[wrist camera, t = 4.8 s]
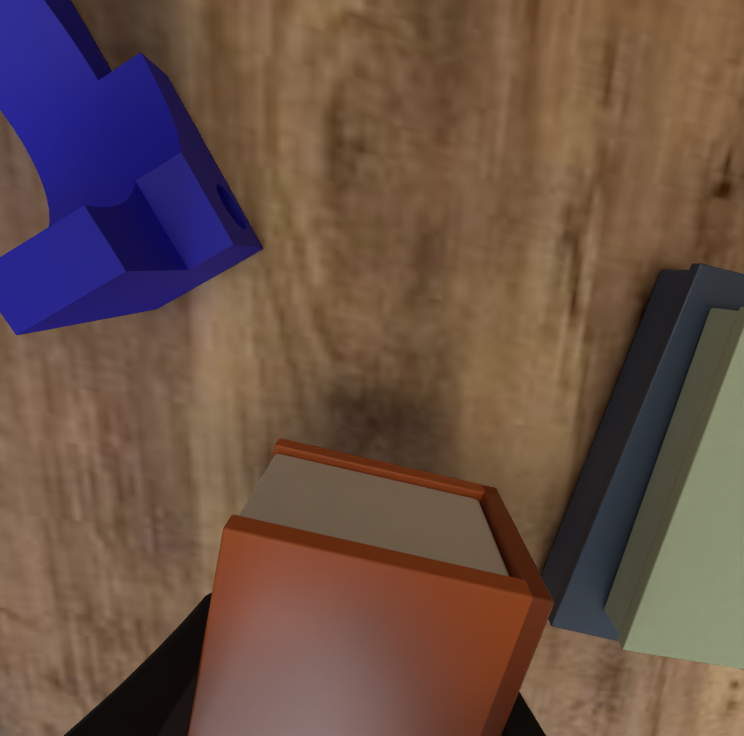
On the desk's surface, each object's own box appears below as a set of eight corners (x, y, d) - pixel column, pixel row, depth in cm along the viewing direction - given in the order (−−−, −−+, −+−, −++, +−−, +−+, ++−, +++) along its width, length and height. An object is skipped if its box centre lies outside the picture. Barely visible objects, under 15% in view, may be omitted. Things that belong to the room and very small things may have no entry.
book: (407, 751, 11) (417, 948, 8) (224, 712, 11) (157, 896, 8) (497, 487, 10) (556, 602, 6) (278, 437, 9) (222, 528, 6)
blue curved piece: (263, 248, 15) (184, 237, 9) (156, 308, 15) (16, 335, 9) (52, -131, 12) (-241, -481, 7) (-65, -43, 13) (-428, -293, 7)
